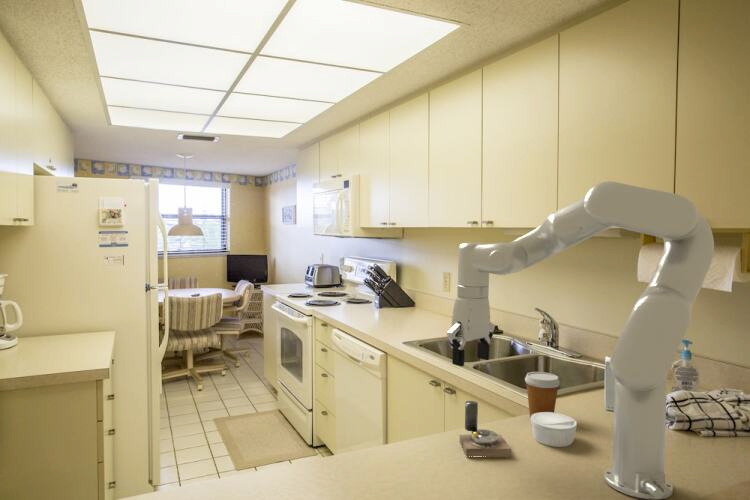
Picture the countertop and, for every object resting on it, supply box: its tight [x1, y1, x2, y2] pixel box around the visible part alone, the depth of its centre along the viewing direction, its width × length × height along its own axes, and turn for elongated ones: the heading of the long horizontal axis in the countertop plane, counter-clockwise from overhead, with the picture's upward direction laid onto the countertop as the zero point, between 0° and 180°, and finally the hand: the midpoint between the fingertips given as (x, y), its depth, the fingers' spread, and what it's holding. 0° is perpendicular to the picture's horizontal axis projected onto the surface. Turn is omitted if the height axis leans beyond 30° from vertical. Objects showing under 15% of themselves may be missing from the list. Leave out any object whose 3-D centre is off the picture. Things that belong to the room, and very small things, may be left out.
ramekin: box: [530, 412, 578, 448], centre depth 127 cm, size 11×11×5 cm
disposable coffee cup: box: [524, 371, 561, 418], centre depth 142 cm, size 10×10×12 cm
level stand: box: [459, 434, 512, 458], centre depth 120 cm, size 8×10×2 cm
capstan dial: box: [464, 400, 498, 445], centre depth 121 cm, size 7×8×8 cm
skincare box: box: [604, 355, 615, 412], centre depth 151 cm, size 8×6×15 cm
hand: (470, 362), depth 123 cm, fingers open, 9 cm apart
